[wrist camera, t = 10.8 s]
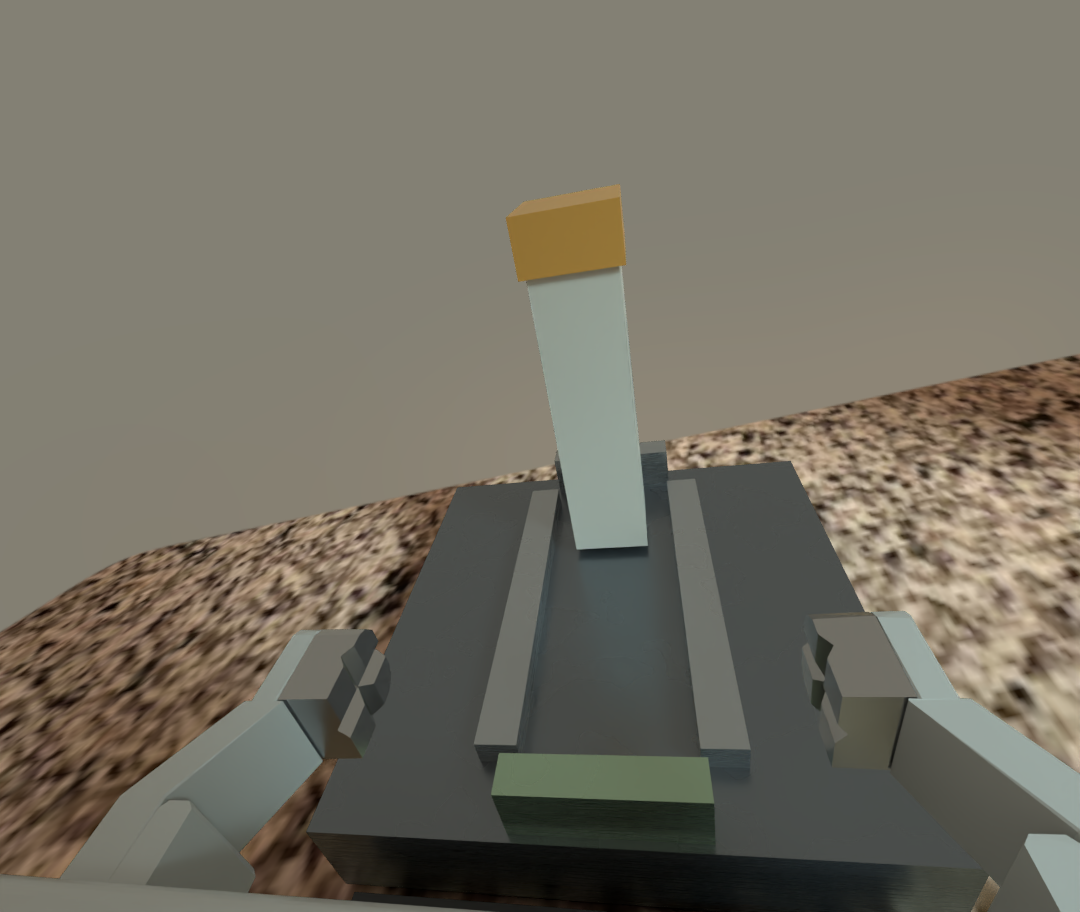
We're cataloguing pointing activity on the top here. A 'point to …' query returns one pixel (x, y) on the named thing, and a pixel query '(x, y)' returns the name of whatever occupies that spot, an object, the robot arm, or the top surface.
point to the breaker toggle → (585, 356)
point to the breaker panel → (629, 716)
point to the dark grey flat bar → (456, 903)
